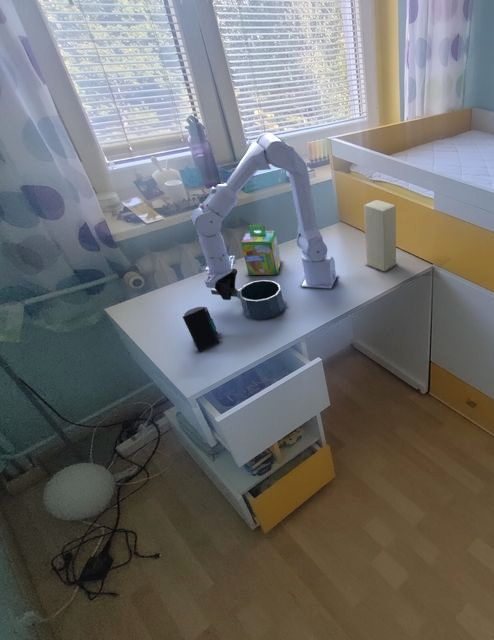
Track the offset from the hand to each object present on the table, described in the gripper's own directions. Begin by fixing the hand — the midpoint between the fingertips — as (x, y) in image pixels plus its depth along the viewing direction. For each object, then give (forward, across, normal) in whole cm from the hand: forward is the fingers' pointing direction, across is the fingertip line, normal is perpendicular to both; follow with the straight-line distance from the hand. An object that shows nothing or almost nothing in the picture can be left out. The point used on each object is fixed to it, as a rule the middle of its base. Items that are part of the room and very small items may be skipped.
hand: (229, 296), depth 123 cm
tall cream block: (+3, -30, +40) cm, 50 cm away
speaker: (+3, +17, 0) cm, 17 cm away
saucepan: (+3, +1, +6) cm, 6 cm away
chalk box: (+3, -22, +2) cm, 22 cm away
